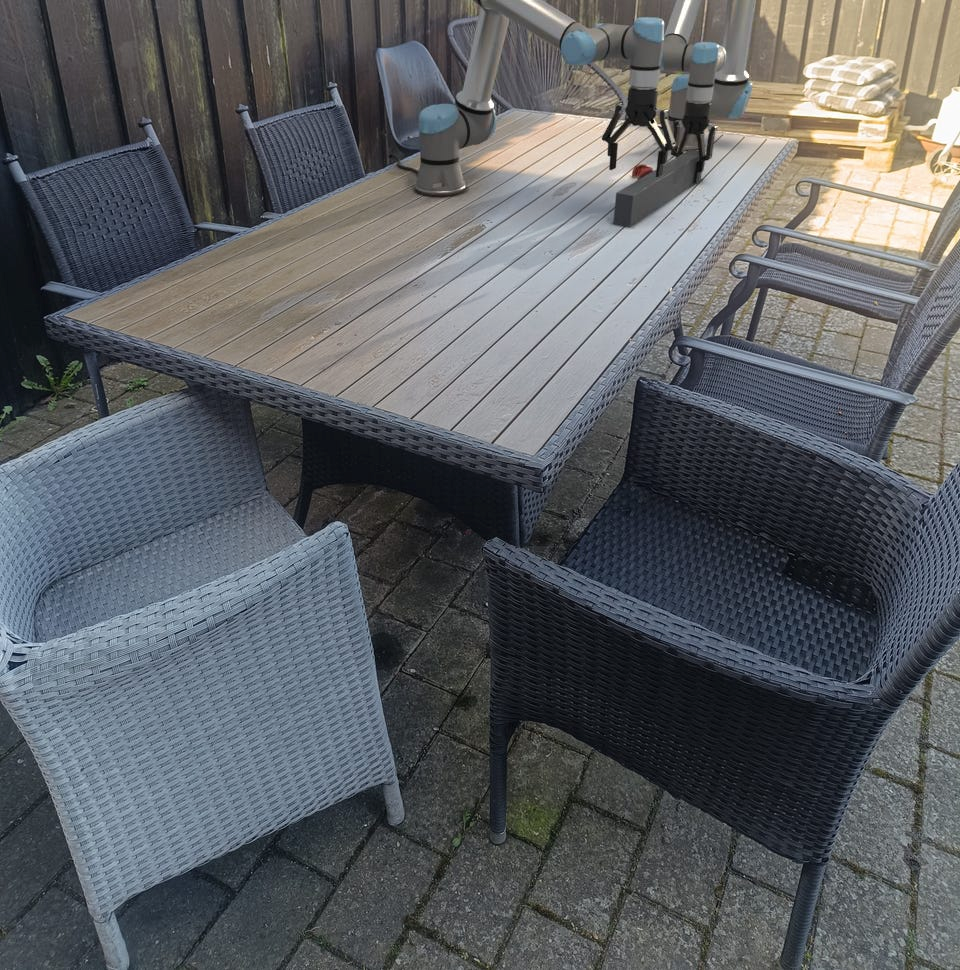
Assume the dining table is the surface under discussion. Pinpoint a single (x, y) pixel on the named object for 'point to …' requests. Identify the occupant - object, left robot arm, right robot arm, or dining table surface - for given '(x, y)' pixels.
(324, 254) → the dining table surface
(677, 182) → the post
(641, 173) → the red irregular lump
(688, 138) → the right robot arm
